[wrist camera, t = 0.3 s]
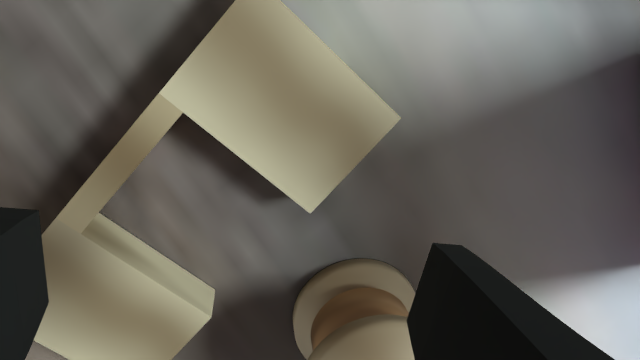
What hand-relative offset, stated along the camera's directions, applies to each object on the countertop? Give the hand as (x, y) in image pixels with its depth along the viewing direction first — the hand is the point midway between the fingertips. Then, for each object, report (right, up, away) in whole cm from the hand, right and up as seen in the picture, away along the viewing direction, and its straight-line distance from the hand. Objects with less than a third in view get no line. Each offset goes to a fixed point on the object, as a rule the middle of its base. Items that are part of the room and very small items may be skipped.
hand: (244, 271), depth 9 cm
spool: (+3, -5, +14) cm, 15 cm away
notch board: (-4, +1, +10) cm, 11 cm away
